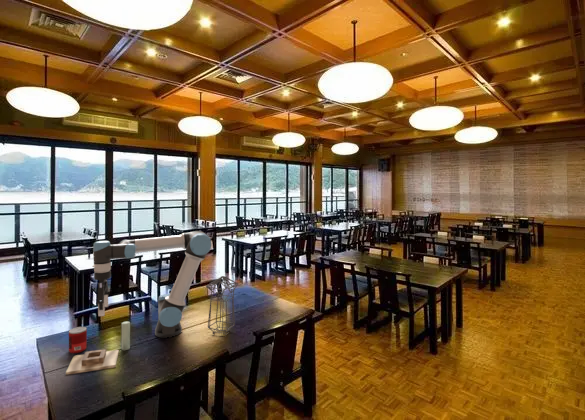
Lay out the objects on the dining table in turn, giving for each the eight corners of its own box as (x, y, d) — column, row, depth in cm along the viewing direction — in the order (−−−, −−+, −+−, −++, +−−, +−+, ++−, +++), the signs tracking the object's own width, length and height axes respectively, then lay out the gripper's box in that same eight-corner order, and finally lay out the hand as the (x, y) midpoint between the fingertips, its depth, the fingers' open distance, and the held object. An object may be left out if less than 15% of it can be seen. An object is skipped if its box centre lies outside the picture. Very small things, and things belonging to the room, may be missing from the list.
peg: (130, 346, 180) (130, 321, 179) (129, 349, 176) (129, 323, 175) (121, 347, 178) (122, 322, 177) (121, 350, 174) (121, 324, 174)
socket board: (118, 351, 173) (118, 344, 173) (115, 367, 158) (115, 359, 158) (73, 358, 165) (73, 350, 165) (65, 374, 151) (65, 366, 150)
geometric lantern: (203, 336, 195) (204, 277, 194) (216, 327, 210) (217, 272, 209) (227, 340, 190) (228, 280, 189) (239, 330, 205) (240, 274, 204)
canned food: (90, 347, 176) (90, 327, 176) (76, 354, 169) (76, 333, 168) (78, 345, 178) (78, 325, 178) (65, 352, 171) (65, 331, 170)
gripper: (98, 266, 181) (99, 304, 182) (89, 277, 158) (90, 321, 159) (113, 265, 184) (114, 302, 185) (107, 276, 161) (108, 318, 162)
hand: (103, 311), depth 172 cm, fingers open, 13 cm apart
